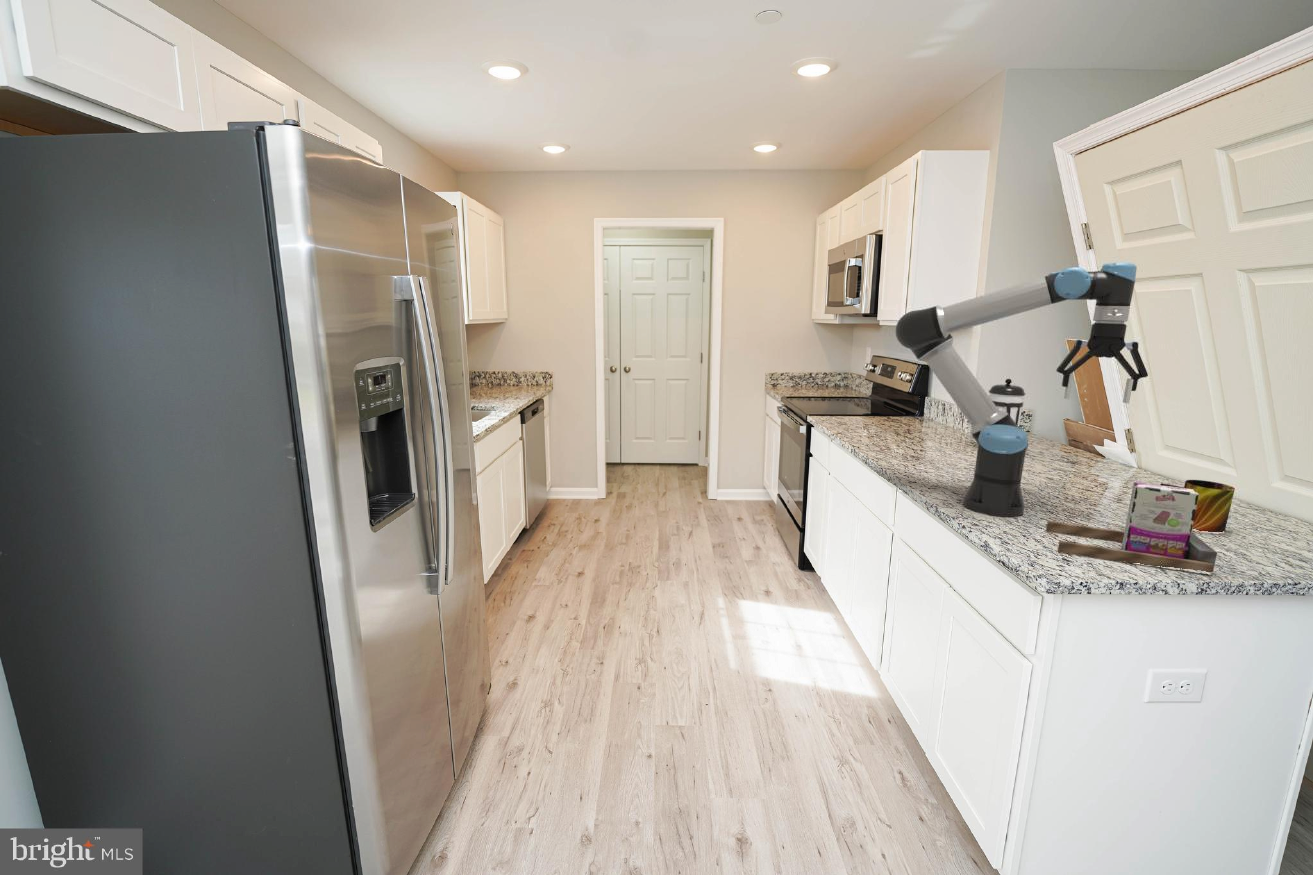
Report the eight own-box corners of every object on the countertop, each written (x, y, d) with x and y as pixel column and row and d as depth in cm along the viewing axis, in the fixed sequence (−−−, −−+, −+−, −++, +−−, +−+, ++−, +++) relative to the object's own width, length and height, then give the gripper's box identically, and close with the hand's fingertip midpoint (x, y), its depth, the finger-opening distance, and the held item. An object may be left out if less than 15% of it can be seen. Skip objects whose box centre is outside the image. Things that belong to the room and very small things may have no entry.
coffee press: (967, 448, 250) (977, 376, 244) (997, 446, 255) (1007, 376, 249) (1002, 457, 234) (1013, 381, 228) (1033, 455, 239) (1045, 381, 233)
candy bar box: (1180, 556, 138) (1194, 488, 134) (1185, 563, 134) (1201, 494, 130) (1120, 546, 143) (1132, 480, 140) (1123, 553, 139) (1136, 485, 136)
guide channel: (1058, 552, 139) (1062, 532, 138) (1046, 530, 154) (1049, 511, 153) (1214, 576, 128) (1219, 554, 127) (1185, 549, 143) (1189, 530, 141)
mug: (1152, 516, 167) (1160, 475, 164) (1216, 525, 161) (1226, 483, 158) (1162, 527, 158) (1171, 484, 156) (1230, 537, 152) (1241, 492, 150)
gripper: (1057, 321, 161) (1045, 398, 166) (1172, 324, 152) (1156, 406, 156) (1052, 321, 168) (1040, 395, 172) (1162, 324, 158) (1147, 402, 163)
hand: (1095, 401), depth 164 cm, fingers open, 13 cm apart
